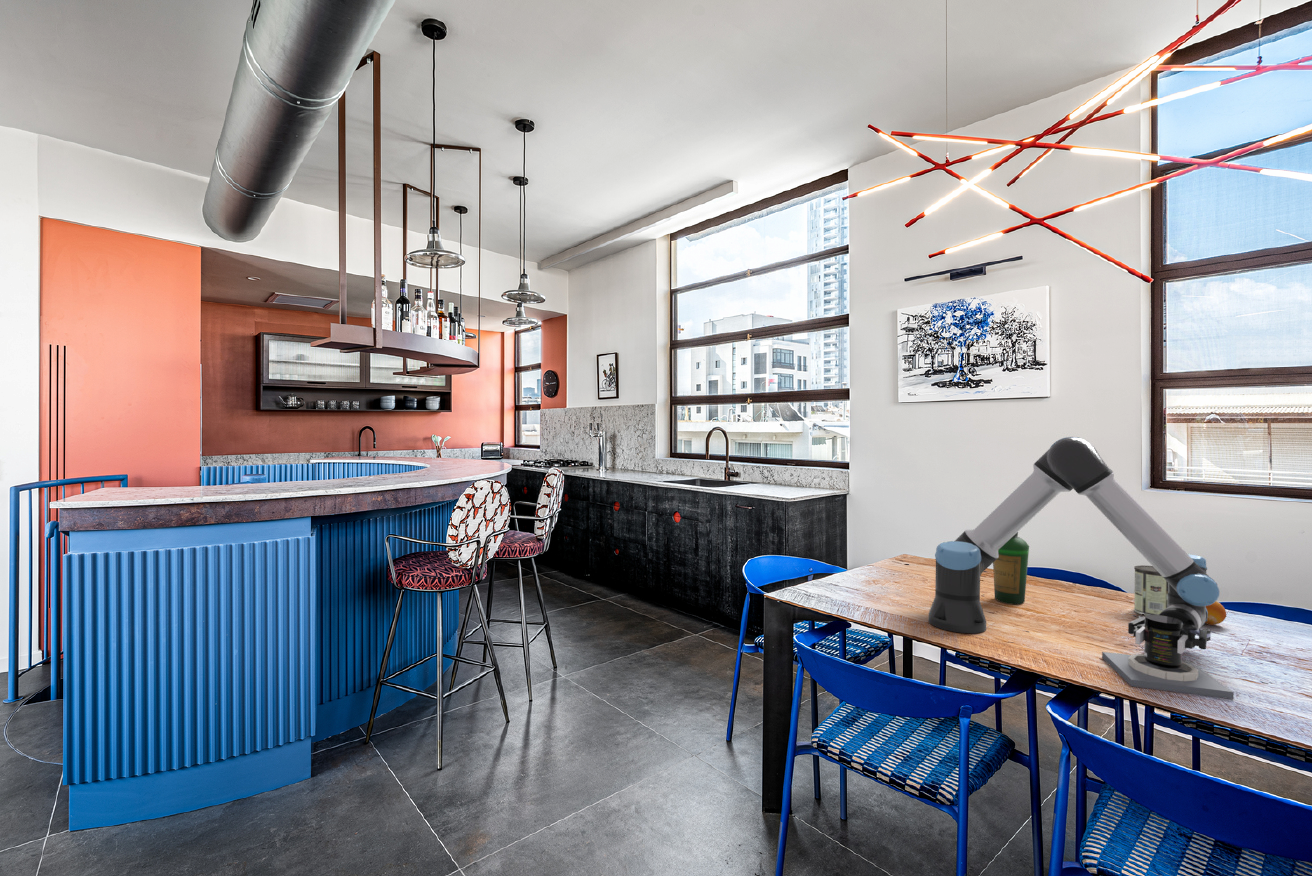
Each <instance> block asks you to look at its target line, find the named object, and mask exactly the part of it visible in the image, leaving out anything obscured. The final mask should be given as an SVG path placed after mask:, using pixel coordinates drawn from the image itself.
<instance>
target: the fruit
mask: <svg viewBox="0 0 1312 876" xmlns="http://www.w3.org/2000/svg"><path fill="white" fill-rule="evenodd" d="M1206 609H1207V612H1208V616H1207V621H1206V622H1205V624H1204V625H1210V626H1211V625H1212V626H1213V625H1219V624H1221V623H1223V622H1224V621H1225V620H1226V618H1227V611H1226V609H1225V607H1224V605H1222V604H1221V603H1220V602H1219V601H1218V600H1217V601H1216V602H1214V603H1213V604H1211V605H1208V606H1206Z"/></svg>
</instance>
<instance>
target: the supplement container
mask: <svg viewBox="0 0 1312 876" xmlns="http://www.w3.org/2000/svg"><path fill="white" fill-rule="evenodd" d="M1144 617H1145V640H1144V648H1143V649H1144V652H1143V654H1144V658H1145V660H1146V661H1147V662H1148V663H1150V664H1152V665H1155V666H1158V667H1163V668H1170V669H1176V668H1179V667H1181V665H1182V661H1183V653H1182V654H1180V653H1178V640H1179V639H1180V638H1181V637H1182V630H1183V622H1182V621H1181V620H1179V619H1176V618H1172V617H1168V616H1162V615H1144Z"/></svg>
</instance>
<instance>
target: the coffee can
mask: <svg viewBox="0 0 1312 876" xmlns="http://www.w3.org/2000/svg"><path fill="white" fill-rule="evenodd" d="M1167 595H1168V582H1167V581H1166V580H1165V579H1164V578H1163V576H1162V575H1161V574H1160V573H1159V572H1158V571H1157V570H1156V569H1155V568H1154V567H1153V566H1152V565H1135V566H1134V598H1133V599H1134V609H1133V612H1135V613H1137V614H1139V615H1142V614H1144V615H1143V616H1145V615H1159V614H1160V613H1161V612H1162V611H1163V610H1164V609H1166V608H1167Z"/></svg>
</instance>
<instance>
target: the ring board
mask: <svg viewBox="0 0 1312 876" xmlns="http://www.w3.org/2000/svg"><path fill="white" fill-rule="evenodd" d="M1101 658H1102V659H1103V660H1104V661H1105V663H1107V664H1108V665H1109V664H1110V665H1109V666H1110V667H1111V668H1112V669H1113V670H1114V671H1115V672H1116V673H1117V674H1118V675H1119V676H1120V677H1121V678H1122V679H1123V680H1124V681H1125V682H1126V683H1128V685H1129V686H1131V687H1134V688H1141V689H1142V688H1143V689H1151V690H1159V691H1166V692H1173V693H1174V692H1175V693H1181V692H1182V693H1183V694H1190V695H1197V696H1198V695H1200V696H1205V697H1215V698H1221V699H1222V698H1224V699H1229V700H1230V699H1231V700H1234V697H1235V696H1234V694H1235V692H1234V691H1233V690H1232V689H1231V688H1229V687H1227V686H1226V685H1225V684H1223V683H1222V682H1220V681H1219V680H1217V679H1216V678H1215V677H1214V676H1212V675H1211V674H1210V673H1208V672H1206V671H1205V670H1203V669H1202V668H1201V667H1200V666H1198V665H1197V664H1195V663H1194V662H1193V661H1189V660H1182V665H1181V667H1179V668H1176V669H1170V668H1163V667H1158V666H1155V665H1152V664H1150V663H1148V662H1147V661H1146V660H1145V658H1144V653H1138V654H1137V653H1134V654H1127V653H1119V652H1118V653H1116V652H1108V651H1102V652H1101Z"/></svg>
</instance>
